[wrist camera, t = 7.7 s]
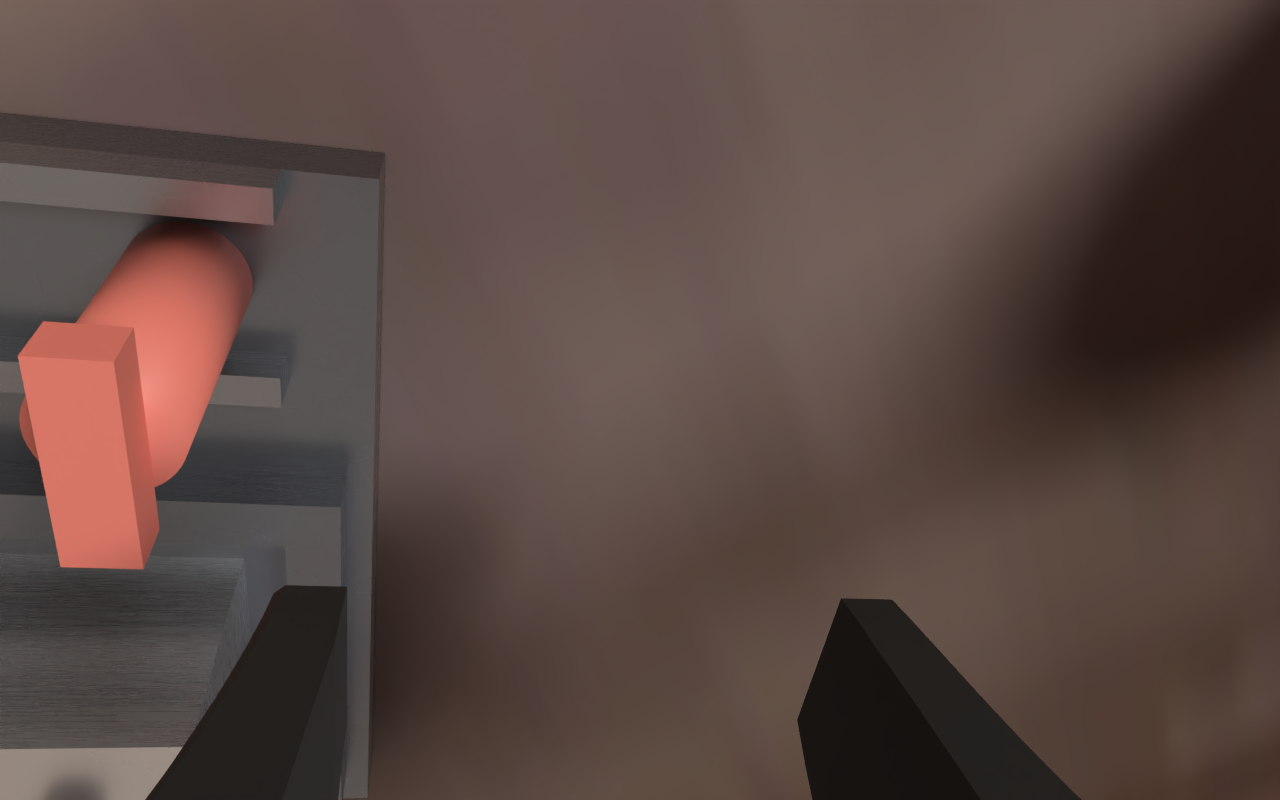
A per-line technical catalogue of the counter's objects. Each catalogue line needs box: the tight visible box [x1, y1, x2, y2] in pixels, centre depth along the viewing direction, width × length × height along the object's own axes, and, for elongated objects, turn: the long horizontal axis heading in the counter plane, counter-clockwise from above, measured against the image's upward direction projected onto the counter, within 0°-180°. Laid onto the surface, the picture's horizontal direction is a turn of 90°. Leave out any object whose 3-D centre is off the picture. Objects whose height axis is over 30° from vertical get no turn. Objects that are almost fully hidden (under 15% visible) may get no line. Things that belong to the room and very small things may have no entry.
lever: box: [18, 222, 253, 569], centre depth 14 cm, size 2×3×5 cm, turn 171°
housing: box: [0, 553, 251, 800], centre depth 19 cm, size 4×4×5 cm
